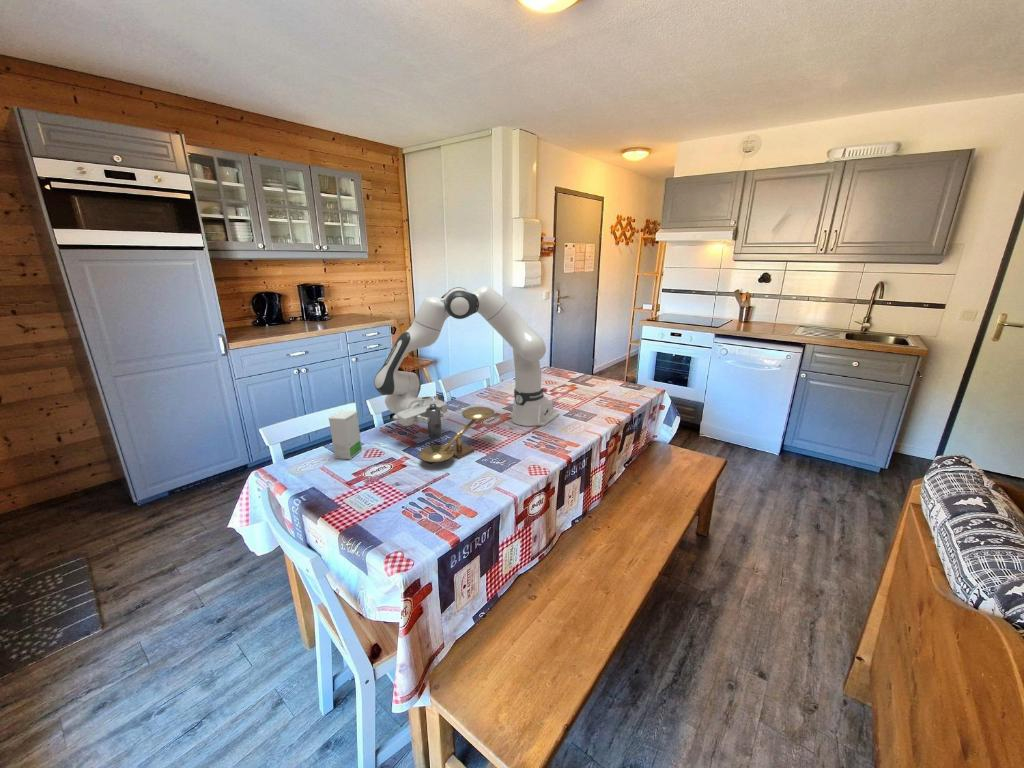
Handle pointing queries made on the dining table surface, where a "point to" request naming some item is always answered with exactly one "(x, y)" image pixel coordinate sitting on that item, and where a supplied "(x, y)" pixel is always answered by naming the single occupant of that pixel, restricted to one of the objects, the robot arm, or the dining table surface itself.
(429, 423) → the iron weight
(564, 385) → the dining table surface
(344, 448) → the skincare box
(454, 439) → the balance
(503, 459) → the dining table surface
